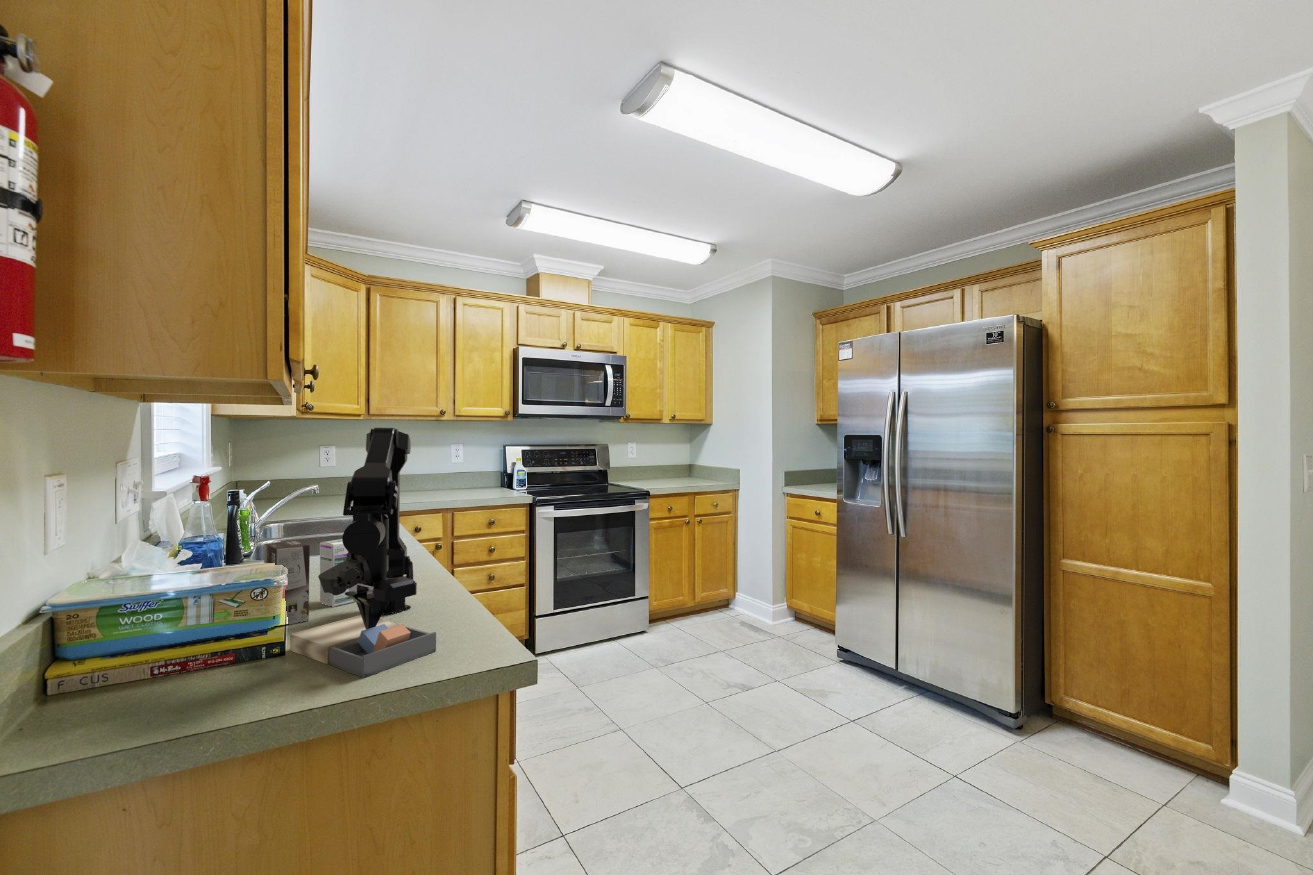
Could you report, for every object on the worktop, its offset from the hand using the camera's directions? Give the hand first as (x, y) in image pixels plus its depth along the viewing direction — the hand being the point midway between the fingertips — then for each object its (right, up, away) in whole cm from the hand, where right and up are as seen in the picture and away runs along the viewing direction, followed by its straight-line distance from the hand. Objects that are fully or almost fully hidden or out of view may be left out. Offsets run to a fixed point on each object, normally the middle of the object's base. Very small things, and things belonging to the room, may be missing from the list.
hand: (370, 630), depth 107 cm
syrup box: (-23, -4, +31) cm, 39 cm away
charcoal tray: (+4, -4, -2) cm, 6 cm away
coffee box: (-27, -4, +18) cm, 33 cm away
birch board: (-6, -4, +4) cm, 8 cm away
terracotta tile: (+4, -1, -3) cm, 5 cm away
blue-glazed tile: (+1, -3, -1) cm, 3 cm away
